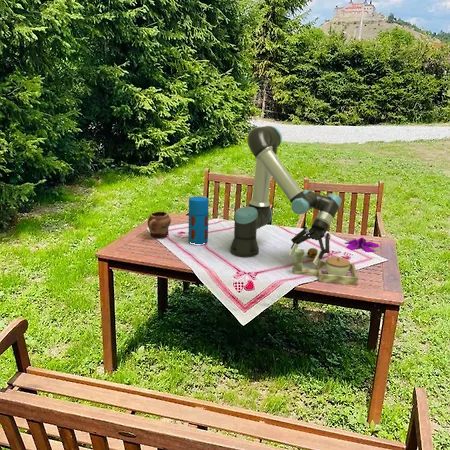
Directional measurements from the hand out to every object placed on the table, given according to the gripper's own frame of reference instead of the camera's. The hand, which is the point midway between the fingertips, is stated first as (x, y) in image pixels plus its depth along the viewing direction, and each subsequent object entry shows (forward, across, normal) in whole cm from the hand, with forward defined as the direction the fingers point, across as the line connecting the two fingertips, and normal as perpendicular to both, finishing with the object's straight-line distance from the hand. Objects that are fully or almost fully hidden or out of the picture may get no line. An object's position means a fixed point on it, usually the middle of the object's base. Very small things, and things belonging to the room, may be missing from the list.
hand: (302, 259), depth 204 cm
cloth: (-34, -1, -45) cm, 57 cm away
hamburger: (-10, +8, -20) cm, 24 cm away
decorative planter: (+17, +85, +9) cm, 87 cm away
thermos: (+10, +64, +1) cm, 64 cm away
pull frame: (+1, -9, -8) cm, 12 cm away
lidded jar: (-1, -14, -11) cm, 18 cm away
